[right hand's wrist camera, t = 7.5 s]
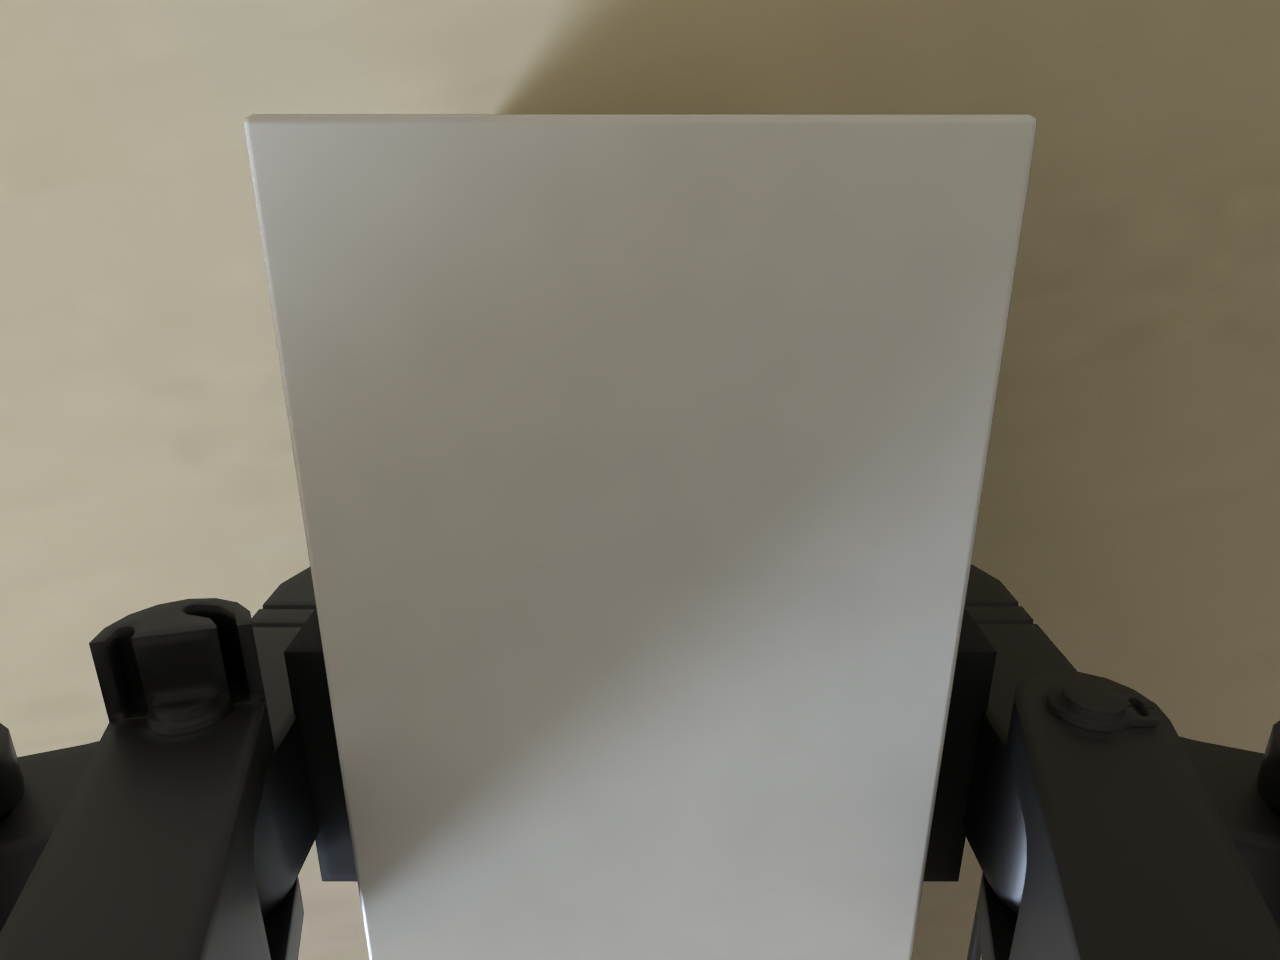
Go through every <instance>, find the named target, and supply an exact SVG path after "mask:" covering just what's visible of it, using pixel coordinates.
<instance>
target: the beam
mask: <svg viewBox="0 0 1280 960" xmlns="http://www.w3.org/2000/svg"><path fill="white" fill-rule="evenodd" d="M244 127H245V134H246V140H247V147H248V154H249V160H250V167H251V174H252V180H253V187H254V194H255V200H256V207H257V214H258V220H259V227H260V234H261V240H262V247H263V254H264V260H265V267H266V274H267V280H268V287H269V294H270V300H271V307H272V314H273V320H274V327H275V334H276V340H277V347H278V354H279V360H280V367H281V374H282V380H283V387H284V394H285V400H286V407H287V414H288V420H289V427H290V434H291V440H292V447H293V454H294V460H295V467H296V474H297V480H298V487H299V494H300V500H301V507H302V514H303V520H304V527H305V534H306V540H307V547H308V554H309V560H310V567H311V574H312V580H313V587H314V594H315V600H316V607H317V614H318V620H319V627H320V634H321V640H322V647H323V654H324V660H325V667H326V674H327V680H328V687H329V694H330V700H331V707H332V714H333V720H334V727H335V734H336V740H337V747H338V754H339V760H340V767H341V774H342V780H343V787H344V794H345V800H346V807H347V814H348V820H349V827H350V834H351V840H352V847H353V854H354V860H355V867H356V874H357V880H358V887H359V894H360V900H361V907H362V914H363V920H364V927H365V934H366V940H367V947H368V954H369V960H911V958H912V952H913V945H914V938H915V932H916V925H917V918H918V912H919V905H920V898H921V892H922V885H923V878H924V872H925V865H926V858H927V852H928V845H929V839H930V832H931V825H932V819H933V812H934V805H935V799H936V792H937V785H938V779H939V772H940V765H941V759H942V752H943V745H944V739H945V732H946V725H947V719H948V712H949V706H950V699H951V692H952V686H953V679H954V672H955V666H956V659H957V652H958V646H959V639H960V632H961V626H962V619H963V612H964V606H965V599H966V593H967V586H968V579H969V573H970V566H971V559H972V553H973V546H974V539H975V533H976V526H977V519H978V513H979V506H980V499H981V493H982V486H983V479H984V473H985V466H986V460H987V453H988V446H989V440H990V433H991V426H992V420H993V413H994V406H995V400H996V393H997V386H998V380H999V373H1000V366H1001V360H1002V353H1003V347H1004V340H1005V333H1006V327H1007V320H1008V313H1009V307H1010V300H1011V293H1012V287H1013V280H1014V273H1015V267H1016V260H1017V253H1018V247H1019V240H1020V233H1021V227H1022V220H1023V214H1024V207H1025V200H1026V194H1027V187H1028V180H1029V174H1030V167H1031V160H1032V154H1033V147H1034V140H1035V134H1036V127H1037V123H1036V118H1035V117H1033V116H1031V115H1028V114H252V115H250V116H248V117H246V118H245V123H244Z"/></svg>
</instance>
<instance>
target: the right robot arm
mask: <svg viewBox="0 0 1280 960" xmlns="http://www.w3.org/2000/svg"><path fill="white" fill-rule="evenodd" d="M89 645H90V649H91V653H92V657H93V660H94V664H95V668H96V672H97V676H98V680H99V683H100V687H101V691H102V695H103V699H104V703H105V707H106V710H107V714H108V718H109V722H110V723H109V724H108V726H107V728H106V730H105V732H104V734H103V736H102V738H101V740H100V741H98V742H94V743H90V744H86V745H80V746H75V747H70V748H65V749H59V750H54V751H49V752H44V753H38V754H33V755H28V756H23V757H17V755H16V752H15V749H14V746H13V742H12V739H11V736H10V733H9V730H8V728H6V727H5V726H3V725H2V724H1V723H0V960H298V954H299V946H300V938H301V931H302V923H303V915H304V910H303V903H302V896H301V890H300V885H299V879H298V874H299V872H300V870H301V868H302V866H303V864H304V861H305V859H306V857H307V855H308V853H309V851H310V849H311V847H312V845H313V843H314V841H316V847H317V853H318V858H319V864H320V870H321V876H322V881H358V880H357V874H356V867H355V860H354V854H353V847H352V840H351V834H350V827H349V820H348V814H347V807H346V800H345V794H344V787H343V780H342V774H341V767H340V760H339V754H338V747H337V740H336V734H335V727H334V720H333V714H332V707H331V700H330V694H329V687H328V680H327V674H326V667H325V660H324V654H323V647H322V640H321V634H320V627H319V620H318V614H317V607H316V600H315V594H314V587H313V580H312V574H311V567H309V568H307V569H306V570H304V571H302V572H300V573H299V574H297V575H295V576H294V577H292V578H290V579H288V580H287V581H285V582H283V583H282V584H280V586H279V587H278V588H277V589H276V590H275V591H274V593H273V594H272V595H271V596H270V597H269V599H268V600H267V601H266V602H265V603H264V604H263V609H259V610H258V612H257V613H256V614H255V615H254V616H253V617H252V619H251V614H250V611H249V610H247V609H246V608H244V607H243V606H242V605H240V604H239V603H237V602H232V601H227V600H222V599H217V598H208V599H186V600H181V601H175V602H170V603H165V604H160V605H156V606H153V607H150V608H147V609H144V610H142V611H139V612H136V613H133V614H130V615H128V616H126V617H124V618H122V619H121V620H119V621H117V622H115V623H113V624H111V625H110V626H108V627H106V628H104V629H103V630H102V631H101V632H100V633H99V634H98V635H97V636H96V637H95V638H94V639H93V640H92V641H91V642H90V643H89ZM966 837H967V839H968V841H969V844H970V846H971V848H972V850H973V852H974V854H975V856H976V858H977V860H978V862H979V864H980V866H981V868H982V870H983V874H982V879H981V885H980V890H979V896H978V901H977V907H976V912H975V918H974V924H973V929H972V935H971V940H970V946H969V951H968V958H967V960H980V957H981V954H982V960H1280V721H1278V722H1277V723H1276V724H1274V725H1273V729H1272V732H1271V735H1270V738H1269V741H1268V745H1267V748H1266V751H1265V754H1263V753H1257V752H1252V751H1247V750H1242V749H1236V748H1231V747H1226V746H1221V745H1215V744H1210V743H1205V742H1200V741H1195V740H1191V739H1187V738H1183V737H1179V736H1178V734H1177V733H1176V731H1175V729H1174V727H1173V725H1172V723H1171V721H1170V720H1169V719H1168V718H1167V716H1166V715H1165V714H1164V713H1163V712H1162V711H1161V709H1160V708H1159V707H1158V706H1157V705H1156V704H1155V703H1153V702H1152V701H1150V700H1149V699H1147V698H1146V697H1144V696H1143V695H1141V694H1140V693H1138V692H1137V691H1135V690H1133V689H1131V688H1129V687H1126V686H1124V685H1121V684H1119V683H1116V682H1114V681H1111V680H1109V679H1107V678H1103V677H1098V676H1094V675H1089V674H1085V673H1080V672H1077V670H1076V669H1075V668H1074V667H1073V666H1072V665H1071V663H1070V662H1069V661H1068V660H1067V659H1066V658H1065V656H1064V655H1063V654H1062V653H1061V652H1060V651H1059V649H1058V648H1057V647H1056V646H1055V645H1054V644H1053V642H1052V641H1051V640H1050V639H1049V638H1048V637H1047V635H1046V634H1045V633H1044V632H1043V631H1042V630H1041V628H1040V627H1039V626H1038V625H1037V624H1033V619H1032V618H1031V617H1030V616H1029V614H1028V613H1027V612H1026V611H1025V610H1024V608H1023V607H1022V606H1018V601H1017V600H1016V599H1015V598H1014V597H1013V596H1012V594H1011V593H1010V592H1009V591H1008V590H1007V589H1006V587H1005V586H1004V585H1003V584H1002V583H1001V582H1000V581H999V580H997V579H996V578H994V577H992V576H990V575H989V574H987V573H985V572H984V571H982V570H980V569H978V568H977V567H975V566H973V565H972V564H971V566H970V573H969V579H968V586H967V593H966V599H965V606H964V612H963V619H962V626H961V632H960V639H959V646H958V652H957V659H956V666H955V672H954V679H953V686H952V692H951V699H950V706H949V712H948V719H947V725H946V732H945V739H944V745H943V752H942V759H941V765H940V772H939V779H938V785H937V792H936V799H935V805H934V812H933V819H932V825H931V832H930V839H929V845H928V852H927V858H926V865H925V872H924V878H923V881H958V879H959V873H960V867H961V861H962V856H963V850H964V844H965V838H966Z"/></svg>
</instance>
